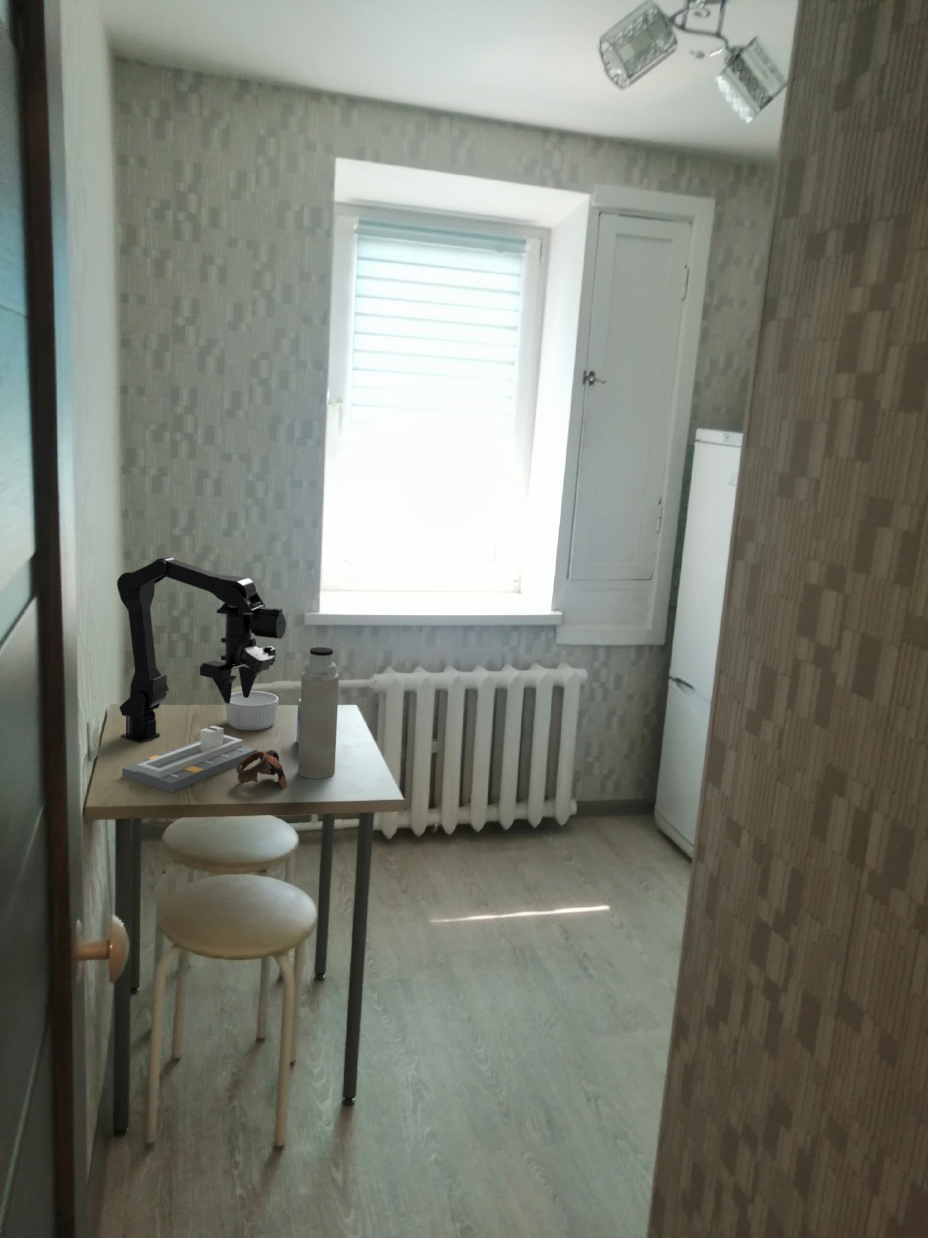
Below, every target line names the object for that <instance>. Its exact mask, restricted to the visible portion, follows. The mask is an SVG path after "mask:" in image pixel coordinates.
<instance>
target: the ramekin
mask: <svg viewBox="0 0 928 1238" xmlns="http://www.w3.org/2000/svg"><path fill="white" fill-rule="evenodd" d="M224 704H225V711H226V720H227V723H228V724H229V725H230V727H232V728H233V729H238V730H242V731H258V730H259V731H260V730H264V729H267V728H270V727H271V726H272V725H274V723H275V721H276V715H277V710H278V705H279V697H278V696H277V695H276V694H274V693H271V692H267V691H258V690H251V691H250V694H249V697H248V698H245V697H244V696H243V692H242V691H236V692H231V699H230V703H229V704H227V703H225V702H224Z"/></svg>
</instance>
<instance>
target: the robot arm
mask: <svg viewBox="0 0 928 1238" xmlns="http://www.w3.org/2000/svg"><path fill="white" fill-rule="evenodd" d="M165 578H169V579H171V580H175V581H177V582H181V583H183V584H186V585H189V586H192V587H195V588H197V589H199V590H203V591H206V592H209V593H210V594H212V595H213V596H214V597H216V599H218V600H220V601H221V602H222V603H223V604H222V605H221V607H219V608H218V609H216V610H215V611H216V613H217V614H221V615H225V637H224V636H223V637H221V639H220V642H221V643H222V644H223V643H224V645H225V646H224V654H221V655H220V660H221V661H218V660H214V659H213V660H210V661H206V662H203V663H201V664H200V666H199V676H202V677H205V678H210V679H212V680H213V682H214V683H215V685H216V687H217V689H218V691H219V694H220V695H221V698H222V699H223V701H224V704H225V703H227V704H229V703H230V699H231V694H232V688H233V682H234V681H235V679H237V675H236V676H235V675H233V670H236V669H238V673H239V680H240V687H241V692H243V696H244V697H245V698H248V697H249V694H250V691H252V688H253V686H254V683H255V681H256V678H257V676H258V675H259V674H260V673H261V672H263V671H268V670H269V669H270V666H273V665H274V663H275V662H276V655H277V653H276V648H275V647H273V646H272V645H270V646H266V647H265V648H264V647H258V646H257V640H256V638H254V637H252V634H253V635H254V636H255V637H260V638H270V639H278V640H282V639H283V637H284V636H285V633H286V629H287V628H286V627H287V621H286V617H285V615H284V613H283V611H284V610H283V608H282V607H274V608H273V607H266V604H265V603H264V602H263V600H262V598H261V596H260V595H259V593H258V592H257V588H256V585H255V583H254V581H253V580H252V579H251V578H249V577H242V576H237V575H227V574H225V575H224V574H218V573H215V572H212V571H209V570H206V569H203V568H200V567H198V566H195V565H192V564H189V563H186V562H183V561H180V560H177V559H175V558H173V556H172V557H171V556H165V557H161V558H157V559H155V560H154V561H153V562H152V563H150V564H148V565H145V566H142V567H141V568H140V569H136V570H131V571H127V572H123V573H122V574H121V575H119V577H118V578H117V580H116V587H117V591H118V594H119V599H120V600H121V602H122V604H123V605H124V606H125V608H126V610H127V612H128V621H129V622H128V623H129V632H130V639H131V640H130V641H131V649H132V658H133V666H134V673H133V675H132V679H131V682H130V685H129V686H130V687H129V688H130V689H129V698H128V699H127V700H125V701H124V702H123V703H122V704H121V705H120V706H119V710H120V714H121V715H122V716H123V717H124V716H125V733H122V734H120V738H123V739H127V740H130V741H133V742H136V743H142V742H145V741H146V742H147V741H150V740H152V739H155V738H158V737H160V736H161V733H160V732H157V719H156V712H154V710H156V709H159V708H160V706H161V703H163V702H164V700H165V699H166V698H167V692H169V690H170V689H169V687H168V682H167V681H168V676H167V674H166V673H163V674H161V673H160V671H159V669H158V668H157V661H156V651H155V642H154V633H153V623H152V615H151V607H152V603H153V600H154V597H155V587H156V584H158V583H160V582H161V581H162V580H164V579H165Z"/></svg>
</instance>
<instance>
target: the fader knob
mask: <svg viewBox="0 0 928 1238" xmlns="http://www.w3.org/2000/svg"><path fill="white" fill-rule="evenodd" d="M223 735H224V727H220V726H217V725H211V726H207V727H206V728H202V729H200V739H199V740H200V751H201V752H205V751H208V750H210V749H213V748H216V747H218V746H221V745H223Z"/></svg>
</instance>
